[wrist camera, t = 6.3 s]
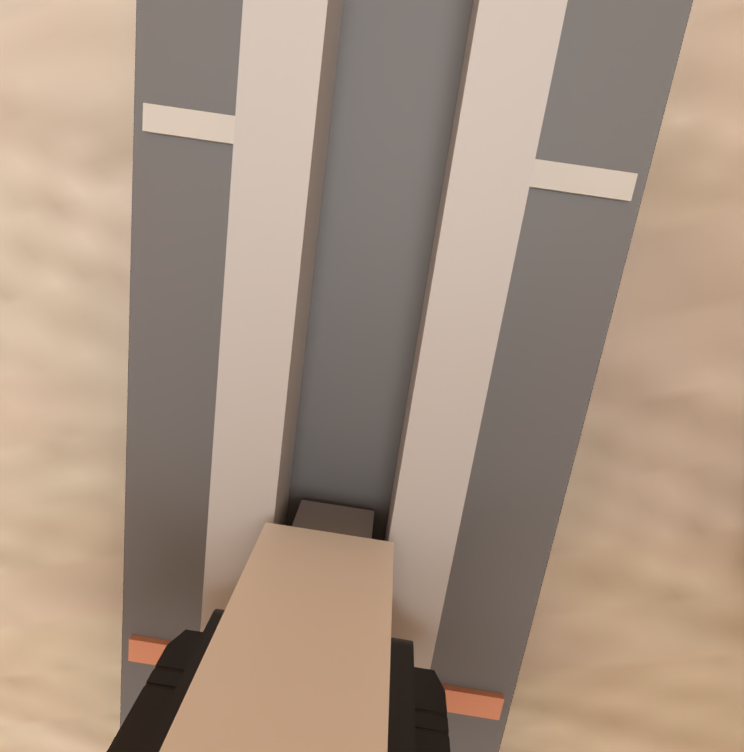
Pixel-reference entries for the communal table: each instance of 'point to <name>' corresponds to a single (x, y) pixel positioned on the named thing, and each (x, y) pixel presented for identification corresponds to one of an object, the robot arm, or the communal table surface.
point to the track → (377, 298)
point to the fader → (299, 644)
